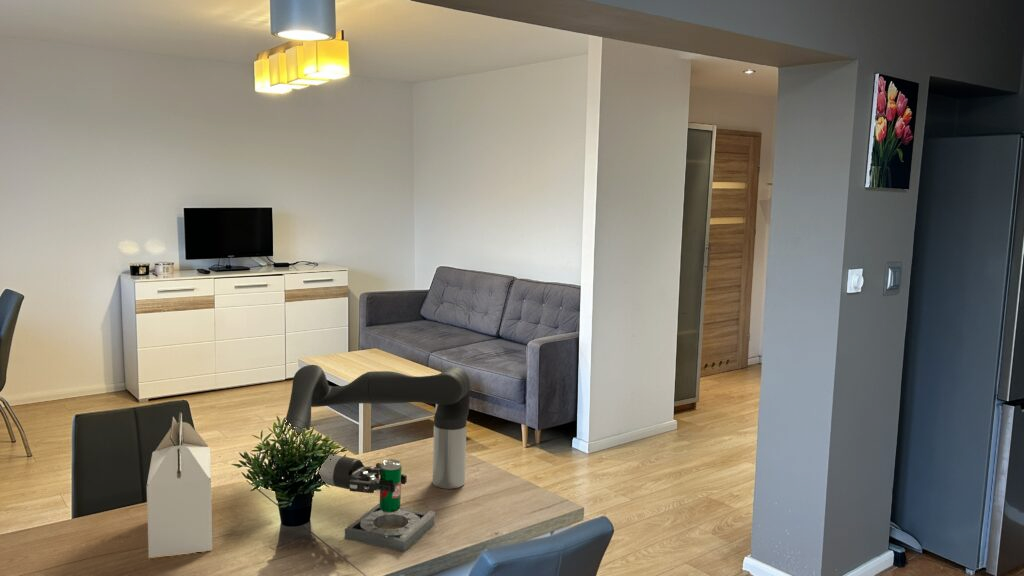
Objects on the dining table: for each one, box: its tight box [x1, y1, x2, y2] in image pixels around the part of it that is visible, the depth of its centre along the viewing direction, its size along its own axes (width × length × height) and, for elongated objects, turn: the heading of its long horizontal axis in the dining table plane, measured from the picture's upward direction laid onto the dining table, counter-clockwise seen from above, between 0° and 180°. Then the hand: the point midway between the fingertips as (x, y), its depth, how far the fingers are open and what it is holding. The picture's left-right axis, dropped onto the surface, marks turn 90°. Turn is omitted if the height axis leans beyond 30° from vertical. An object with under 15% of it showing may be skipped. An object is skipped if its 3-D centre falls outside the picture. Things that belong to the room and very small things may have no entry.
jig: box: [344, 503, 435, 553], centre depth 193 cm, size 16×16×4 cm
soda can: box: [378, 458, 403, 513], centre depth 191 cm, size 5×5×12 cm
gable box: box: [146, 412, 213, 558], centre depth 185 cm, size 22×13×28 cm, turn 21°
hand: (400, 483), depth 190 cm, fingers closed on soda can, 5 cm apart
